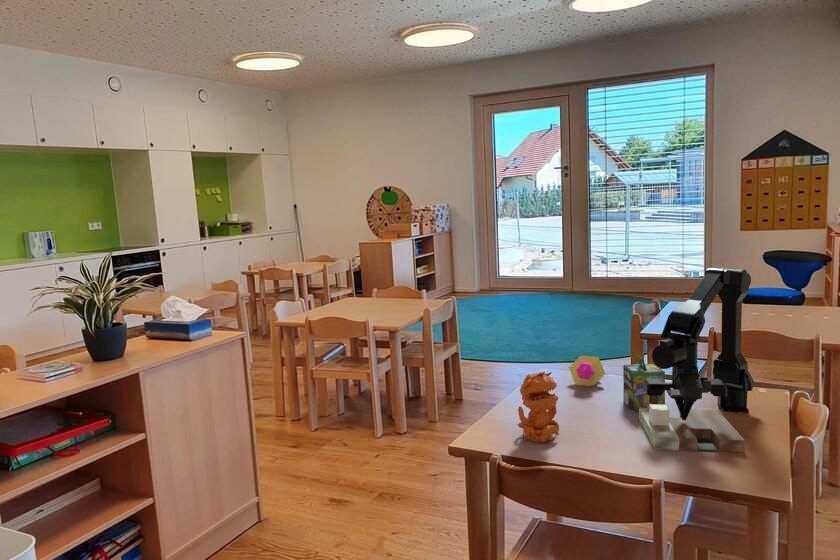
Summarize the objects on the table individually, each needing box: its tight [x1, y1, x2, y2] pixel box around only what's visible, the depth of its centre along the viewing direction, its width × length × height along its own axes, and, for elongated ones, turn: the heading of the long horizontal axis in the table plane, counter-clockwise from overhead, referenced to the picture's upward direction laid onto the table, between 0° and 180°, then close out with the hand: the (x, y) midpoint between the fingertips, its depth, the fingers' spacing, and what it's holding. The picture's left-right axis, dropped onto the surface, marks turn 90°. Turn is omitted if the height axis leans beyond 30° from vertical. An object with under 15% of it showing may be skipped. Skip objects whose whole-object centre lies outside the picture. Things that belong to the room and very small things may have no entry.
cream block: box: [649, 404, 670, 425], centre depth 153 cm, size 4×4×4 cm
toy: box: [568, 355, 606, 387], centre depth 195 cm, size 10×18×10 cm, turn 159°
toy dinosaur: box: [517, 371, 560, 443], centre depth 153 cm, size 11×11×18 cm
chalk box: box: [622, 354, 666, 413], centre depth 173 cm, size 9×9×15 cm
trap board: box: [638, 408, 746, 453], centre depth 153 cm, size 20×20×3 cm
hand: (683, 419), depth 153 cm, fingers closed
